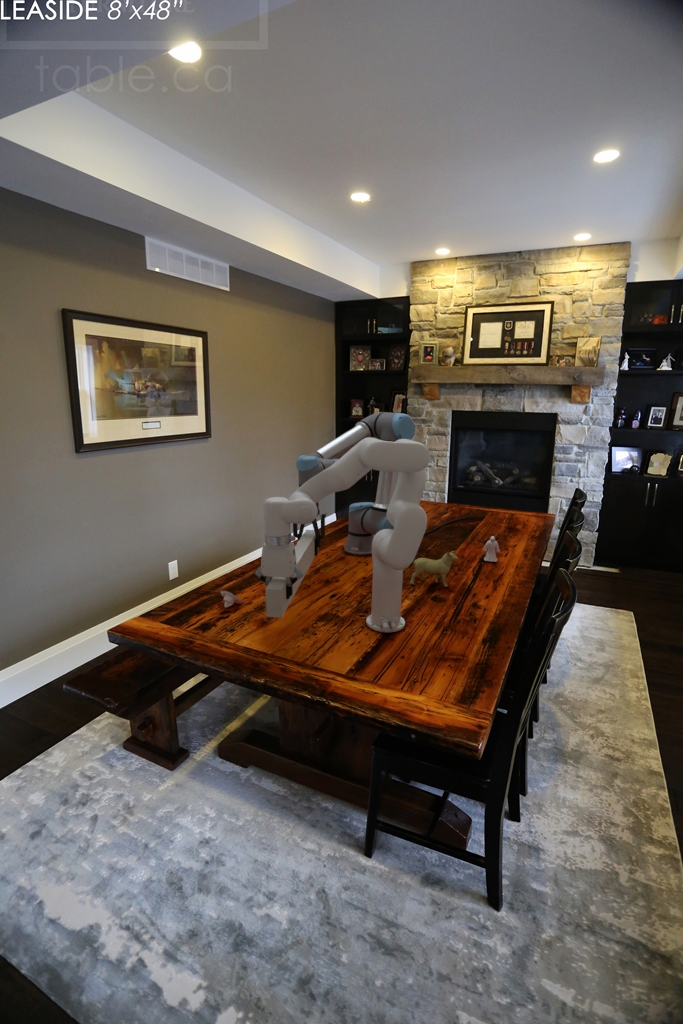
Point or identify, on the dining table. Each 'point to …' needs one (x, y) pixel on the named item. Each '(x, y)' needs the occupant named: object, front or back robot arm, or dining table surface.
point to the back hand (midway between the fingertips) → (309, 554)
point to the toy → (434, 567)
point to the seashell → (229, 598)
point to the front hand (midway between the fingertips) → (279, 596)
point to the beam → (277, 585)
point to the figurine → (491, 550)
